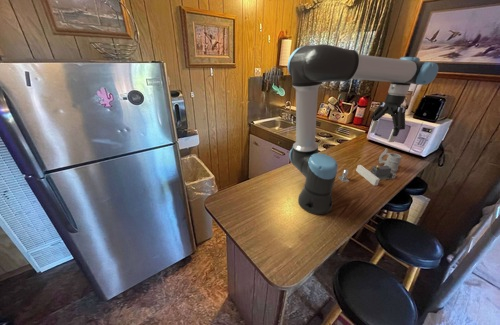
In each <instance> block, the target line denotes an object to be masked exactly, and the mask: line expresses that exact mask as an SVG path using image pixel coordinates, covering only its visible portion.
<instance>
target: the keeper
mask: <svg viewBox="0 0 500 325" xmlns="http://www.w3.org/2000/svg"><path fill="white" fill-rule="evenodd" d="M367 170H368V171H370V172H371V170H369V169H367ZM371 173H372V172H371ZM372 174H373V175H375V174H374V173H372ZM375 176H376V175H375ZM396 176H397V173H396V172H392V171H390V174H389V176H388V178H379V179H380V180H379V181H381V180H382V181H383V180H395V179H396Z"/></svg>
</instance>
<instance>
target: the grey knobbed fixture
mask: <svg viewBox="0 0 500 325" xmlns="http://www.w3.org/2000/svg"><path fill="white" fill-rule="evenodd" d="M348 173H349V169H347V168H344V169H343V171H342V175H340V176H337V177H338V179H339V180H340V181H341V182H343V183H347V182H350V180H349V179H348V178H347V177H348Z"/></svg>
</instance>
